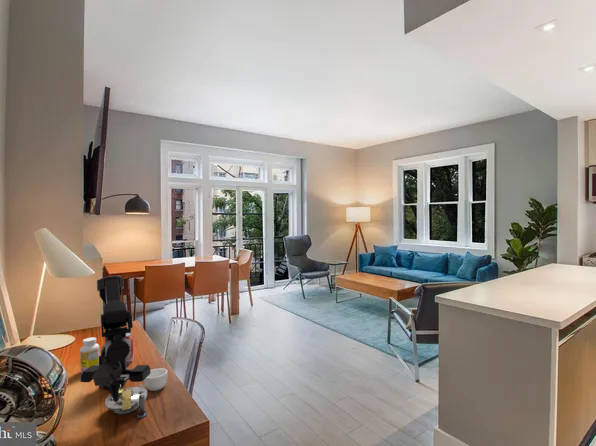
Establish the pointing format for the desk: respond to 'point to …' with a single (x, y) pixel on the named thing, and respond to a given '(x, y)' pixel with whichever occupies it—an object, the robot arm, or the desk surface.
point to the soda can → (130, 342)
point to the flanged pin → (141, 407)
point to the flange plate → (119, 403)
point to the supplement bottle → (89, 353)
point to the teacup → (155, 379)
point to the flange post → (126, 411)
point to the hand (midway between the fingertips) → (116, 401)
